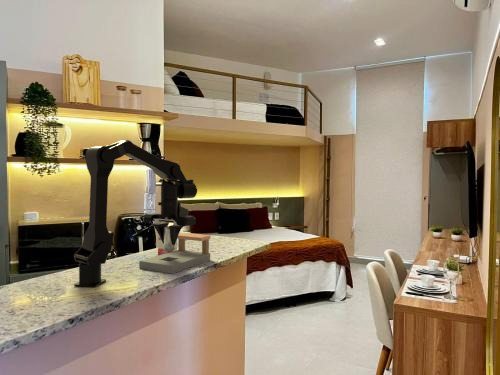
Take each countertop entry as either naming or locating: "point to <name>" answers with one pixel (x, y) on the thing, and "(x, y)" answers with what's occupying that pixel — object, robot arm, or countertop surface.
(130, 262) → the countertop surface
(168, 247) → the peg
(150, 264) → the socket board
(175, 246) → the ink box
